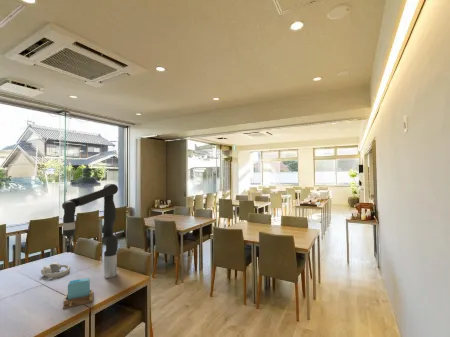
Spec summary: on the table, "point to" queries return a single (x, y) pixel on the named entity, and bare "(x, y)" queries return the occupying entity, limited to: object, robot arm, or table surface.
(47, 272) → the headphones
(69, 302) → the caddy
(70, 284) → the data package
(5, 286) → the table surface
